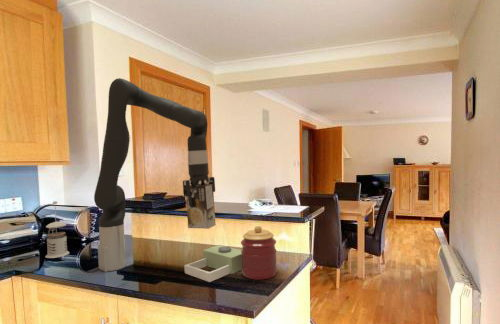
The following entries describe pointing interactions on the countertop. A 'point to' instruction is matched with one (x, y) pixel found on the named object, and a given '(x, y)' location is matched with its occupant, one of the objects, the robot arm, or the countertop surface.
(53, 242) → the french press
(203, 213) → the coffee box
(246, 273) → the canister
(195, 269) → the dome button panel
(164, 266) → the countertop surface
